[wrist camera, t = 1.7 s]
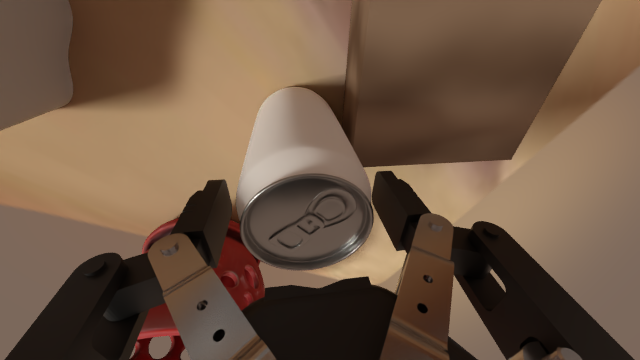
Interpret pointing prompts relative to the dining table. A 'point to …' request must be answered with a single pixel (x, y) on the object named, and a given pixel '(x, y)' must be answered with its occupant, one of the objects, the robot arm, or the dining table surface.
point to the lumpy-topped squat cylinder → (34, 58)
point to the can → (302, 185)
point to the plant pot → (232, 270)
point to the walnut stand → (452, 75)
